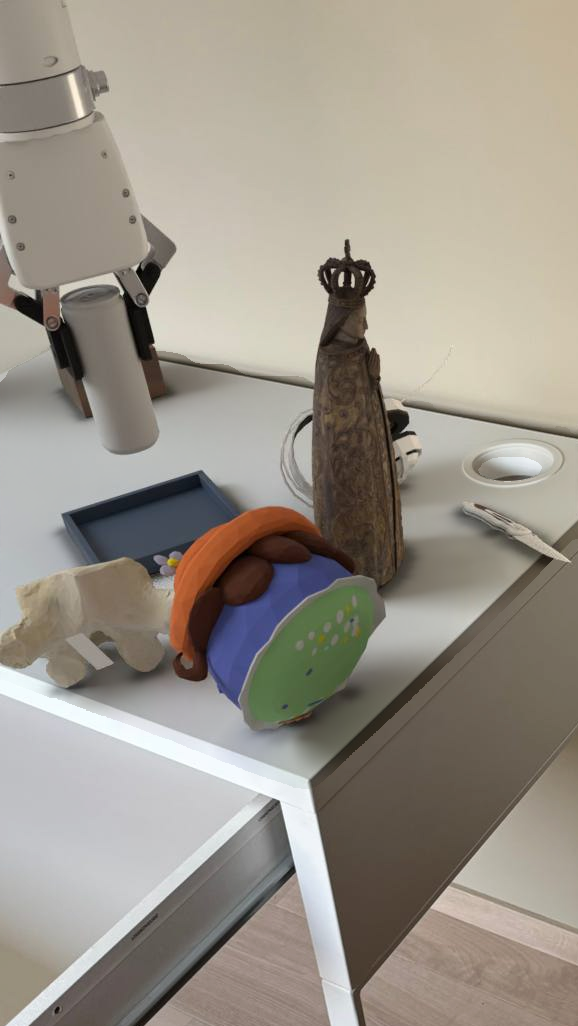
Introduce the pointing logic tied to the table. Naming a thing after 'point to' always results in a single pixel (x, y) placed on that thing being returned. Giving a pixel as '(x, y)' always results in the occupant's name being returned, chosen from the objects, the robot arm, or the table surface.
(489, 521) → the pocket knife
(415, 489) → the table surface
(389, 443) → the statue
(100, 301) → the beverage can
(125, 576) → the decorative object
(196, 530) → the tray
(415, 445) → the headphones
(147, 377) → the can holder
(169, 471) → the table surface
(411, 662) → the table surface
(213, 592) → the toy
